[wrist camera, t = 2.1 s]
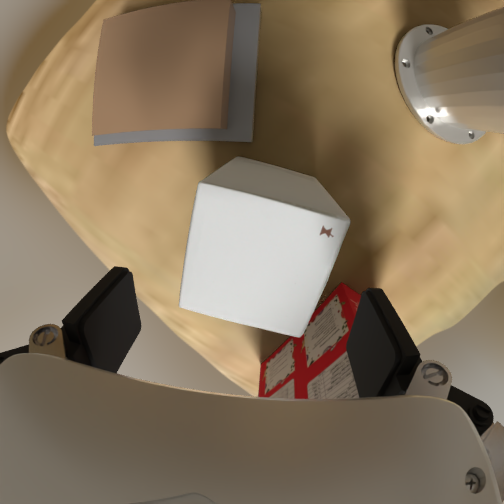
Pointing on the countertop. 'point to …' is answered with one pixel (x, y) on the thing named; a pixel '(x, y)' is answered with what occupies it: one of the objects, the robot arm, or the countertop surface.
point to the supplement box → (260, 246)
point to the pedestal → (177, 73)
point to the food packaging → (315, 355)
